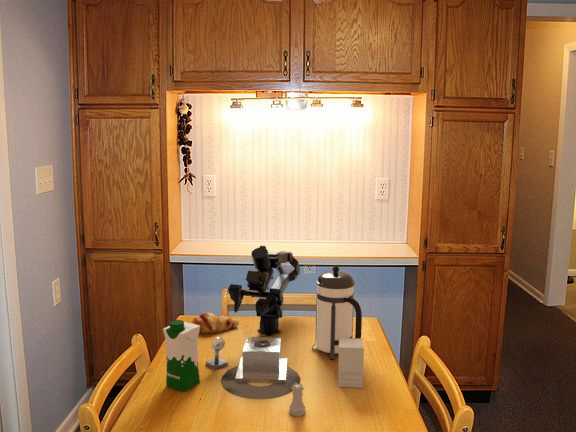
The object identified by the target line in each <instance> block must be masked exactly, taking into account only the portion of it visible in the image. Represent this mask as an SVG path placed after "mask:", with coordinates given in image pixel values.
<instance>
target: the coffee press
mask: <svg viewBox="0 0 576 432" xmlns="http://www.w3.org/2000/svg"><path fill="white" fill-rule="evenodd" d="M315 283H316V287H317V289H316V296H315V297H316V298H315V340H314V341H315V342H314V344H313V345H312V346H311V350H312V351H317V350H320V351H321V352H324V353H327V354H329V360H330V361H334V360H335V355H336V354H337V355H339V338H353V337H354V338H355V339H362V325H363V324H362V323H363V321H362V320H363V315H362V308H361V306H360V304H359V302H358V301H357V300H356V299H355V292H354V288H355V285H356V282H355V280H354V277H353V276H352V275H351V274H349V273H347V272H344V271H340V268H339V266H338V265H334V266H333V267H332V268H331V271H325V272H322V273H321V274H319V276H318V277H317V279H316V280H315ZM354 311H355V330H354V324H353V321H354ZM354 331H355V332H354ZM353 332H354V333H355V335H354V334H353ZM353 335H354V336H353ZM315 345H316V348H314V346H315Z"/></svg>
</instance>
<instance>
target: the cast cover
mask: <svg viewBox="0 0 576 432" xmlns="http://www.w3.org/2000/svg"><path fill="white" fill-rule="evenodd" d="M238 366H239V367H238V370H237V374H236V377H235V382H247V383H285V382H286V371H287V367H288V358H287V357H286V358H285V357H284V358H282V337H270V336H266V337H261V336H259V337H258V336H257V337H256V336H246V338H245V342H244V344H243V348H242V357H240V360H239V364H238Z"/></svg>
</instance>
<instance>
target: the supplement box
mask: <svg viewBox="0 0 576 432" xmlns="http://www.w3.org/2000/svg"><path fill="white" fill-rule="evenodd" d="M364 356H365V347H364V341H363V338H361V339H355V337H354V338H339V353H338V368H337V370H338V371H337V372H338V373H337V374H338V375H337V377H338V378H337V379H338V388H357V389H363V387H364V386H363V385H364V359H365V358H364Z"/></svg>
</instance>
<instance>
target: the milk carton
mask: <svg viewBox="0 0 576 432" xmlns="http://www.w3.org/2000/svg"><path fill="white" fill-rule="evenodd" d="M199 330H200V325H196V324H192V323H188V321H184V320H181V319H174V320H172V321H169V325H168V326H166V327H164V328H162V331H163V335H164V339H165V350H166V351H165V352H166V354H165V355H166V357H165V358H166V380H165V382H166V383H165V385H166V386H165V387H168V388H169V389H173V390H176V391H180V392H183V393H185V392H188V390H191V389H192V388H193V387H195V386H197V385H198V384H200V383H201V379H200V378H201V377H200V371H199V370H200V369H199V347H198V346H199V342H198V341H199V334H200V333H199Z"/></svg>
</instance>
